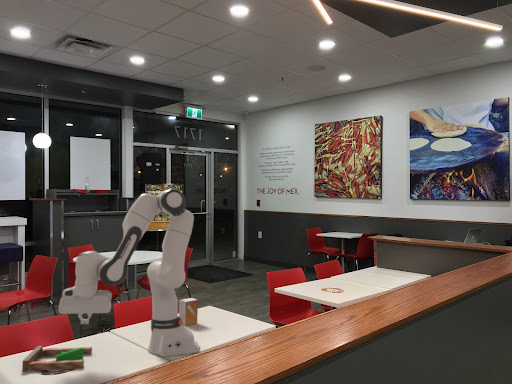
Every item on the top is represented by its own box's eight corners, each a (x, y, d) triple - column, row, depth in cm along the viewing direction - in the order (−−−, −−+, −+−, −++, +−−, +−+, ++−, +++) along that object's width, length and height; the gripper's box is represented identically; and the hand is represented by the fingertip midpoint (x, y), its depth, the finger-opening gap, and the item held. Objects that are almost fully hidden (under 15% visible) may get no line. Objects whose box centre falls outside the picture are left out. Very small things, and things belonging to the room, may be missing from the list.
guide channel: (91, 352, 181) (92, 343, 181) (82, 367, 164) (82, 357, 164) (37, 355, 177) (37, 345, 177) (22, 371, 160) (22, 360, 161)
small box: (185, 326, 221) (185, 301, 222) (178, 323, 226) (179, 299, 226) (197, 323, 227) (198, 299, 227) (190, 321, 231) (191, 297, 232)
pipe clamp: (77, 357, 176) (78, 346, 176) (83, 359, 174) (83, 348, 174) (52, 365, 167) (52, 353, 167) (57, 367, 165) (57, 355, 165)
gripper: (113, 288, 178) (112, 321, 178) (62, 289, 175) (61, 322, 174) (110, 291, 172) (109, 325, 171) (58, 292, 169) (56, 326, 168)
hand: (84, 323), depth 173 cm, fingers closed
